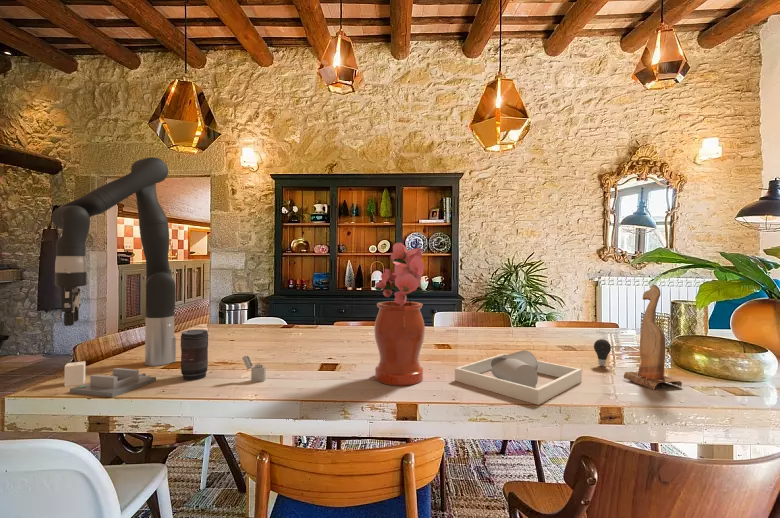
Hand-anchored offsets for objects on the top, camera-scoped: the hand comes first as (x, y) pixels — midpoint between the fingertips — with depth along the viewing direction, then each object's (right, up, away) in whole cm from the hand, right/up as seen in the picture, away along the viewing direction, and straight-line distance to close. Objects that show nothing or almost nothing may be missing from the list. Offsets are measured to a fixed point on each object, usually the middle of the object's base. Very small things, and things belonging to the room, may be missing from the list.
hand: (71, 323), depth 119 cm
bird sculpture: (+182, -20, +4) cm, 183 cm away
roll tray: (+140, -20, +6) cm, 141 cm away
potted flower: (+102, -20, +9) cm, 105 cm away
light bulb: (+177, -20, +24) cm, 180 cm away
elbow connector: (+140, -20, +6) cm, 141 cm away
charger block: (+1, -19, 0) cm, 19 cm away
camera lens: (+34, -19, +7) cm, 40 cm away
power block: (+16, -19, -1) cm, 24 cm away
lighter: (+55, -19, +4) cm, 58 cm away
